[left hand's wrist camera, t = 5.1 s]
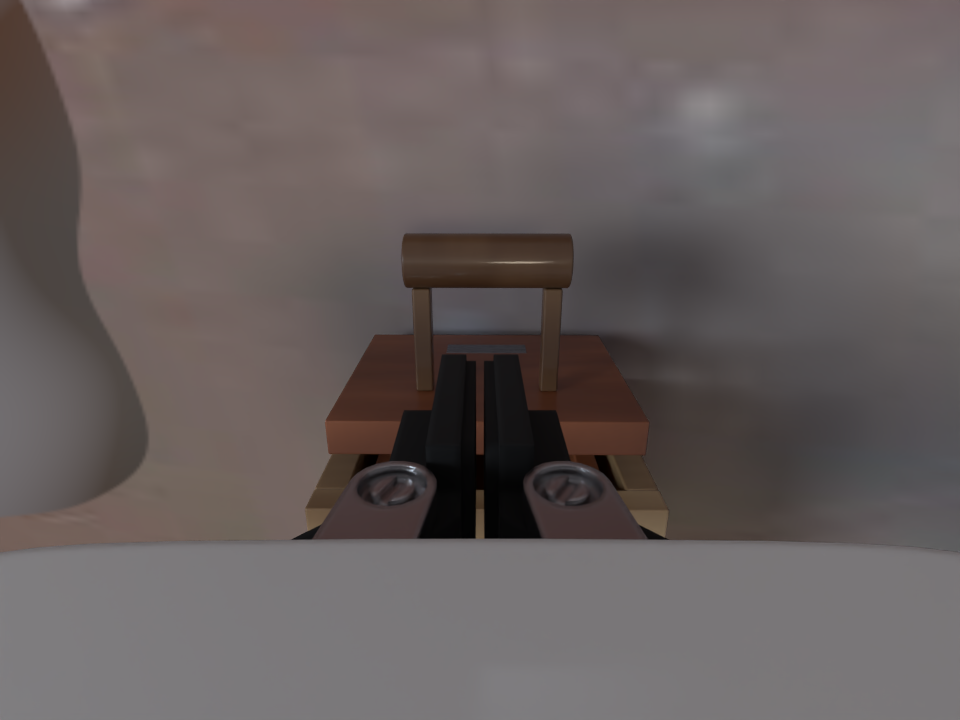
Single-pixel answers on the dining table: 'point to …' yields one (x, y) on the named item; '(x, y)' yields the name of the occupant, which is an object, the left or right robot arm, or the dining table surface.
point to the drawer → (489, 353)
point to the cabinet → (619, 469)
